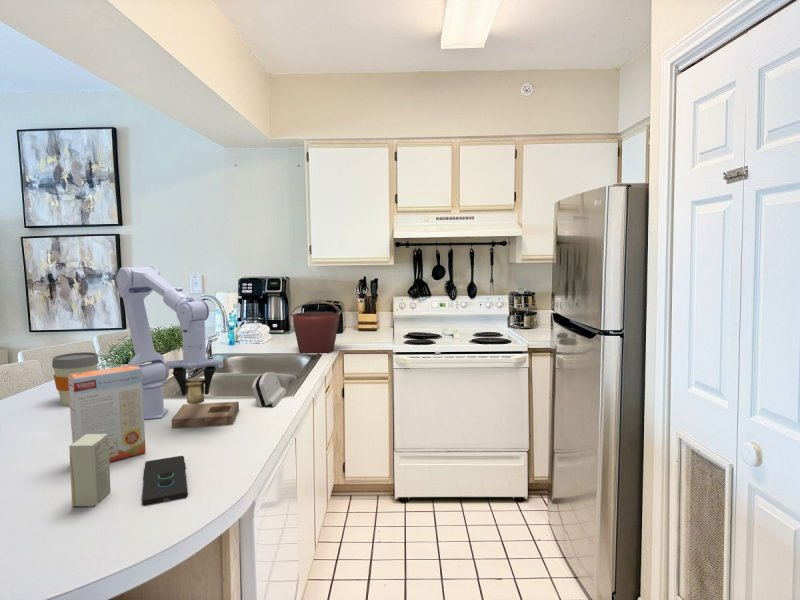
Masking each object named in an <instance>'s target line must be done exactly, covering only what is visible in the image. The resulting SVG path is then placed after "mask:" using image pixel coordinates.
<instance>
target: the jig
mask: <svg viewBox="0 0 800 600" xmlns="http://www.w3.org/2000/svg"><path fill="white" fill-rule="evenodd" d="M239 402H240V401H227V402H208V403H207V402H205V403H204V402H202V403H198V404H188V403H187V404H186V403H183V404H182V405H181V407H180V408H179V410H178V411H177V412H175V414H174V415H173V417H172V418H171V429H182V428H181V427H184V428H194V427H195V428H197V427H198V426H201V427H211V426H212V427H214V426H213V425H218V426H232V425H231V424H233V425H234V423H233V422H235V420H236V418H235V417H237V415H238V412H239V410H240V408H239V407H240V405H239V404H240V403H239ZM229 424H230V425H229Z"/></svg>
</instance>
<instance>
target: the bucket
mask: <svg viewBox="0 0 800 600" xmlns="http://www.w3.org/2000/svg"><path fill="white" fill-rule="evenodd" d="M314 303H315V304H316V303H317V304H318V303H320V304H326V305H330V306H332V307H333V308H334V309H335V311H336V313H335V312H332V311H307V312H305V311H304V312H296V313H294V312H295V311H296V310H297V309H299V308H301V307H303V306H306V305H308V304H314ZM342 312H343V310H342V309H340V308H339V307H337V306H336V305H335V304H334V303H332V302H330V301H329V302H327V301H321V300H312V301H307V302H304V303H301V304H299V305H298V306H295V307H294V308H293V310H291V311H290V316H291V317H292V324H293V327H294V328H293V329H294V333H295V338H296V343H297V348H298V353H299V354H302V353H327V354H329V352H330V353H331V352H334V351H335V350H334V349H335V345H336V344H335V343H336V339H337V335H338V329H339V322H340V315H341V314H342ZM293 313H294V314H293Z"/></svg>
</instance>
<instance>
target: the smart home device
mask: <svg viewBox="0 0 800 600" xmlns="http://www.w3.org/2000/svg"><path fill="white" fill-rule="evenodd" d="M186 466H187V465H186V462H185V456H184V455H179V456H178V455H177V456H172V457H166V458H165V457H164V458H159V459H158V458H157V459H152V460H146V461H145V462H144V469H143V477H142V478H143V479H142V480H143V483H142V486H143V487H142V494H141V502H142V506H149V505H155V504H160V503H166V502H171V501H176V500H183V499H186V498H187V497H188V494H189V493H188V484H187V483H188V481H187V473H186V468H187V467H186Z"/></svg>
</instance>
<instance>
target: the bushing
mask: <svg viewBox="0 0 800 600" xmlns="http://www.w3.org/2000/svg"><path fill="white" fill-rule="evenodd" d="M184 384H185V385H186V389H187V393H186V403H187V404H202V403H204V402H205V378H204V377H192V378H186V380H185V381H184Z"/></svg>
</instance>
